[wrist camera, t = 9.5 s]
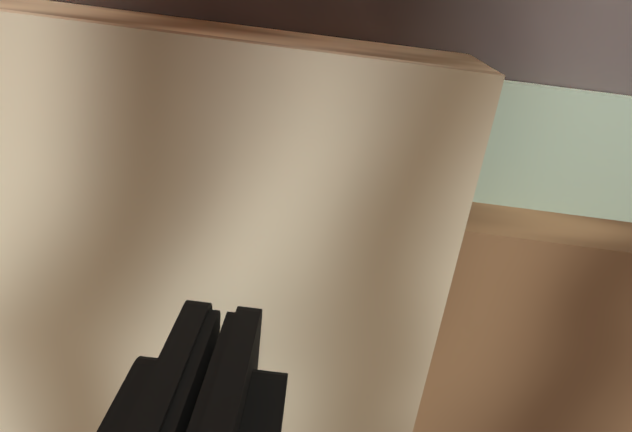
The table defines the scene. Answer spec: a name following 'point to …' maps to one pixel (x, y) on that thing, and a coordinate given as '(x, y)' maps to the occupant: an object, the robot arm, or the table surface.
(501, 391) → the tile
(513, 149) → the mat
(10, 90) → the deck
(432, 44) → the table surface
